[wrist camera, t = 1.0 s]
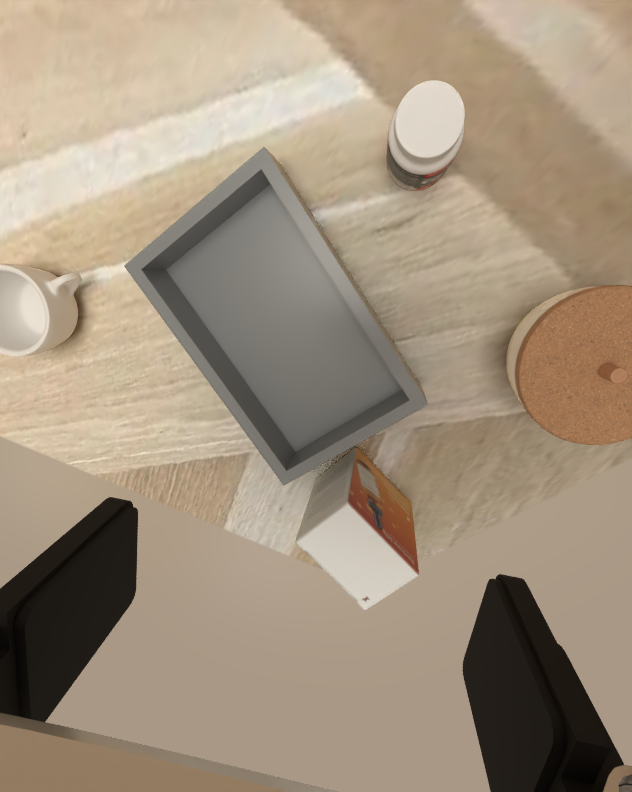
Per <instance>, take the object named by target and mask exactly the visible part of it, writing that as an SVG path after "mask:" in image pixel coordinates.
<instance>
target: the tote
mask: <svg viewBox="0 0 632 792" xmlns="http://www.w3.org/2000/svg"><path fill="white" fill-rule="evenodd" d="M125 268H126V269H127V271H128V272H129V273H130V275H131V276H132V277H133V279H134V280H135V282H136V283H137V284H138V286H139V287H140V288H141V290H142V291H143V293H144V294H145V295H146V297H147V298H148V299H149V301H150V302H151V304H152V305H153V306H154V308H155V309H156V310H157V312H158V313H159V314H160V316H161V317H162V319H163V320H164V321H165V323H166V324H167V325H168V327H169V328H170V330H171V331H172V332H173V334H174V335H175V336H176V338H177V339H178V341H179V342H180V343H181V345H182V346H183V347H184V349H185V350H186V352H187V353H188V354H189V356H190V357H191V358H192V360H193V361H194V363H195V364H196V365H197V367H198V368H199V369H200V371H201V372H202V374H203V375H204V376H205V378H206V379H207V380H208V382H209V383H210V385H211V386H212V387H213V389H214V390H215V391H216V393H217V394H218V396H219V397H220V398H221V400H222V401H223V402H224V404H225V405H226V407H227V408H228V409H229V411H230V412H231V413H232V415H233V416H234V418H235V419H236V420H237V422H238V423H239V424H240V426H241V427H242V429H243V430H244V431H245V433H246V434H247V435H248V437H249V438H250V440H251V441H252V442H253V444H254V445H255V446H256V448H257V449H258V451H259V452H260V453H261V455H262V456H263V457H264V459H265V460H266V462H267V463H268V464H269V466H270V467H271V468H272V470H273V471H274V473H275V474H276V475H277V477H278V478H279V479H280V481H281V482H282V483H283V485H286V484H287V483H289V482H291V481H293V480H295V479H296V478H298V477H300V476H302V475H303V474H305V473H307V472H309V471H311V470H312V469H314V468H316V467H318V466H319V465H321V464H323V463H325V462H327V461H328V460H330V459H332V458H334V457H335V456H337V455H339V454H341V453H343V452H344V451H346V450H348V449H350V448H351V447H353V446H355V445H357V444H358V443H360V442H362V441H364V440H366V439H367V438H369V437H371V436H373V435H374V434H376V433H378V432H380V431H382V430H383V429H385V428H387V427H389V426H390V425H392V424H394V423H396V422H398V421H399V420H401V419H403V418H405V417H406V416H408V415H410V414H412V413H414V412H415V411H417V410H419V409H421V408H422V407H424V406H426V405H428V403H427V400H426V398H425V395H424V392H423V389H422V387H421V385H420V384H419V382H418V381H417V379H416V377H415V376H414V374H413V373H412V371H411V369H410V368H409V366H408V365H407V363H406V362H405V360H404V358H403V357H402V355H401V354H400V352H399V351H398V349H397V347H396V346H395V344H394V343H393V341H392V339H391V338H390V336H389V335H388V333H387V332H386V330H385V328H384V327H383V325H382V324H381V322H380V321H379V319H378V317H377V316H376V314H375V313H374V311H373V309H372V308H371V306H370V305H369V303H368V302H367V300H366V298H365V297H364V295H363V294H362V292H361V291H360V289H359V287H358V286H357V284H356V283H355V281H354V279H353V278H352V276H351V275H350V273H349V272H348V270H347V268H346V267H345V265H344V264H343V262H342V261H341V259H340V257H339V256H338V254H337V253H336V251H335V250H334V248H333V246H332V245H331V243H330V242H329V240H328V238H327V237H326V235H325V234H324V232H323V231H322V229H321V227H320V226H319V224H318V223H317V221H316V220H315V218H314V216H313V215H312V213H311V212H310V210H309V208H308V207H307V205H306V204H305V202H304V201H303V199H302V197H301V196H300V194H299V193H298V191H297V190H296V188H295V186H294V185H293V183H292V182H291V180H290V178H289V177H288V175H287V174H286V172H285V171H284V169H283V167H282V166H281V164H280V163H279V162H278V161H277V160H276V159H275V158H274V157H273V156H272V155H271V153H270V152H269V151H268V150H267V149H266V148H265V147H263V148H262V149H261V150H260V151H259V152H257V153H256V154H255V155H254V156H253V157H251V158H250V159H249V160H248V161H247V162H246V163H244V164H243V165H242V166H241V167H240V168H239V169H237V170H236V171H235V172H234V173H233V174H232V175H230V176H229V177H228V178H227V179H226V180H224V181H223V182H222V183H221V184H220V185H219V186H217V187H216V188H215V189H214V190H213V191H212V192H210V193H209V194H208V195H207V196H206V197H205V198H203V199H202V200H201V201H200V202H199V203H197V204H196V205H195V206H194V207H193V208H192V209H190V210H189V211H188V212H187V213H186V214H185V215H183V216H182V217H181V218H180V219H179V220H178V221H176V222H175V223H174V224H173V225H172V226H170V227H169V228H168V229H167V230H166V231H165V232H163V233H162V234H161V235H160V236H159V237H158V238H156V239H155V240H154V241H153V242H152V243H151V244H149V245H148V246H147V247H146V248H145V249H143V250H142V251H141V252H140V253H139V254H138V255H136V256H135V257H134V258H133V259H132V260H131V261H129V262H128V263H127V264H126V265H125Z"/></svg>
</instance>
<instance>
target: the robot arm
mask: <svg viewBox="0 0 632 792" xmlns="http://www.w3.org/2000/svg"><path fill="white" fill-rule="evenodd" d="M137 527H138V510H137V508H134V507H133V504H132V502H131V501H127V500H122V499H117V498H112V497H109V498H107V499H106V500H105V501H103V502H102V503H101V504H100V505H99V506H97V507H96V508H95V509H94V510H93V511H92V512H90V514H88V515H87V516H86V517H84V518H83V519H82V520H81V521H80V522H79V523H77V524H76V525H75V526H74V527H73V528H71V529H70V530H69V531H68V532H67V533H66V534H65V535H63V536H62V537H61V538H60V539H59V540H57V541H56V542H55V543H54V544H53V545H51V546H50V547H49V548H48V549H47V550H46V551H44V552H43V553H42V554H41V555H40V556H38V557H37V558H36V559H35V560H34V561H32V562H31V563H30V564H29V565H28V566H27V567H25V568H24V569H23V570H22V571H21V572H19V573H18V574H17V575H16V576H15V577H14V578H12V579H11V580H10V581H9V582H8V583H6V584H5V585H4V586H3V587H2V588H1V589H0V792H336V791H332V790H328V789H324V788H320V787H316V786H312V785H308V784H304V783H300V782H295V781H291V780H287V779H283V778H279V777H275V776H271V775H267V774H262V773H259V772H254V771H250V770H246V769H242V768H238V767H234V766H229V765H225V764H221V763H217V762H213V761H209V760H205V759H201V758H196V757H192V756H188V755H184V754H180V753H176V752H171V751H167V750H163V749H159V748H154V747H150V746H146V745H142V744H137V743H133V742H128V741H124V740H120V739H116V738H112V737H108V736H103V735H99V734H94V733H91V732H86V731H82V730H78V729H74V728H69V727H64V726H60V725H55V724H50V723H46V722H45V721H46V720H47V719H48V717H49V716H50V714H51V713H52V712H53V710H54V709H55V708H56V706H57V705H58V703H59V702H60V701H61V699H62V698H63V696H64V695H65V694H66V692H67V691H68V690H69V688H70V687H71V686H72V684H73V683H74V681H75V680H76V679H77V677H78V676H79V675H80V673H81V672H82V670H83V669H84V668H85V666H86V665H87V664H88V662H89V661H90V659H91V658H92V657H93V655H94V654H95V653H96V651H97V649H98V648H99V647H100V646H101V644H102V643H103V642H104V640H105V639H106V637H107V636H108V635H109V633H110V632H111V631H112V629H113V628H114V626H115V625H116V624H117V622H118V621H119V620H120V618H121V617H122V615H123V614H124V613H125V611H126V610H127V609H128V607H129V606H130V604H131V603H132V600H133V599H134V596H135V592H136V571H137V529H138V528H137ZM463 676H464V681H465V685H466V689H467V693H468V698H469V702H470V706H471V710H472V715H473V719H474V723H475V727H476V731H477V736H478V740H479V744H480V748H481V752H482V756H483V761H484V765H485V769H486V773H487V778H488V782H489V786H490V790H491V792H632V766H627V765H624V763H623V761H622V759H621V757H620V755H619V754H618V752H617V750H616V748H615V746H614V744H613V742H612V740H611V738H610V737H609V735H608V733H607V731H606V729H605V727H604V725H603V723H602V721H601V719H600V717H599V716H598V714H597V712H596V710H595V708H594V706H593V704H592V702H591V700H590V699H589V696H588V694H587V693H586V691H585V689H584V687H583V685H582V683H581V681H580V679H579V677H578V675H577V674H576V672H575V670H574V668H573V666H572V664H571V662H570V660H569V658H568V657H567V655H566V653H565V651H564V650H563V648H562V647H561V646H560V645H559V644H557V642H556V640H555V638H554V636H553V634H552V632H551V630H550V628H549V626H548V624H547V622H546V620H545V619H544V617H543V615H542V613H541V611H540V609H539V607H538V605H537V603H536V601H535V599H534V597H533V595H532V593H531V591H530V589H529V588H528V586H527V584H526V582H525V581H524V580H523V579H522V578H517V577H511V576H507V575H501V574H500V575H498V576H497V577H496V579H490V580H489V581H488V584H487V587H486V590H485V593H484V596H483V599H482V603H481V606H480V609H479V612H478V615H477V619H476V622H475V625H474V628H473V632H472V635H471V638H470V641H469V644H468V648H467V651H466V654H465V657H464V661H463Z"/></svg>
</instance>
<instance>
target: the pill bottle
mask: <svg viewBox="0 0 632 792" xmlns="http://www.w3.org/2000/svg"><path fill="white" fill-rule="evenodd" d="M464 121H465V110H464V104H463V101H462V99H461V97H460V95H459V93H458V92H457V91H456V90H455V89H454V88H453V87H452V86H451V85H449V84H447V83H445V82H442V81H437V80H432V81H425V82H422V83H420V84H418V85H416V86H415V87H413V88H412V89H411V90H410V91H409V92H408V93H407V94H406V95H405V96H404V97H403V99H402V101H401V102H400V104H399V106H398V109H397V110H396V112H395V113H394V115H393V117H392V120H391V123H390V127H389V131H388V145H387V167H388V170H389V173H390V175H391V177H392V178H393V180H394V181H395V182H396V183H397V184H398V185H400V186H401V187H403V188H405V189H408V190H422V189H426V188H428V187H430V186H432V185H433V184H435V183H436V182H437V181H438V180H439V179H440V178H441V177H442V176H443V174H444V173H445V171H446V169H447V168H448V167H449V165H450V163H451V162H452V160H453V159H454V157H455V156H456V154H457V152H458V150H459V148H460V146H461V143H462V139H463V134H464Z"/></svg>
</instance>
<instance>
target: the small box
mask: <svg viewBox="0 0 632 792" xmlns="http://www.w3.org/2000/svg"><path fill="white" fill-rule="evenodd" d="M296 544H297V545H299V546H300V547H301V548H302V549H303V550H304V551H305V552H307V553H308V554H309V555H310V556H311V557H312V558H313V559H314V560H315V561H316V562H317V563H318V564H319V565H320V566H321V567H322V568H323V569H324V570H325V571H326V572H327V573H328V574H329V575H330V576H331V577H332V578H333V579H334V580H335V581H336V582H337V583H338V584H339V585H340V586H341V587H342V588H343V589H344V590H345V591H346V592H347V593H348V594H349V595H350V596H351V597H352V598H353V599H354V600H355V601H356V603H357V604H358V605H359V606H360V607H361V608H362V609H363V610H366V609H368V608H369V607H371V606H372V605H374V604H376V603H377V602H379V601H380V600H381V599H383V598H385V597H386V596H388V595H389V594H391V593H393V592H394V591H396V590H397V589H399V588H400V587H402V586H403V585H405V584H406V583H408V582H409V581H411V580H412V579H414V578H415V577H417V576H418V575H419V570H418V561H417V550H416V541H415V532H414V522H413V513H412V504H411V502H410V501H409V500H408V499H407V498H406V497H405V496H404V495H402V494H401V493H400V492H399V491H398V490H397V488H396V487H395V486H394V485H393V484H392V483H391V482H390V481H389V480H388V479H387V478H386V477H385V476H384V475H383V474H382V473H381V472H380V471H379V469H378V468H377V467H376V466H375V465H374V464H373V463H372V462H371V461H370V460H369V459H368V458H367V457H366V456H365V455H364V454H363V453H362V452H361V450H360V449H359V448H357V447H355V448H354V449H353V450H352V451H350V452H349V453H348V454H346V455H345V456H344V457H343V458H341V459H340V460H339V461H338V462H337V463H335V464H334V465H333V466H332V467H330V468H329V469H328V470H327V471H325V472H324V473H323V474H322V475H321V476H319V477H318V478H317V479H316V481H315V484H314V487H313V490H312V493H311V496H310V499H309V502H308V505H307V508H306V511H305V514H304V517H303V520H302V523H301V526H300V529H299V532H298V535H297V538H296Z"/></svg>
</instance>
